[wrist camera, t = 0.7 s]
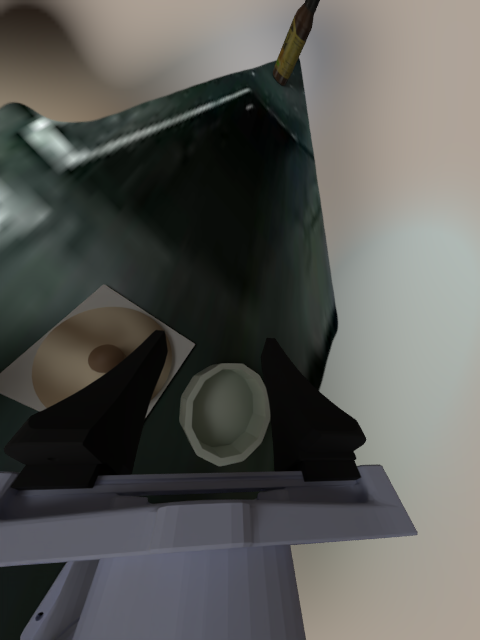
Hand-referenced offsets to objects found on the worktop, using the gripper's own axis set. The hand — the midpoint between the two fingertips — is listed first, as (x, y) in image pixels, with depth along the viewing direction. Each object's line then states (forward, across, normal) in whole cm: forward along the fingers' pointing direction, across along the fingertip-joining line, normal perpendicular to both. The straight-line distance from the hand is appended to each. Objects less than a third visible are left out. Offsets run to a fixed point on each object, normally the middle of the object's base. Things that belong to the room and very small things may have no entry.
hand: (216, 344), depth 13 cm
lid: (+6, +13, +11) cm, 18 cm away
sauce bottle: (+99, -15, -42) cm, 108 cm away
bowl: (+5, -1, +18) cm, 19 cm away
